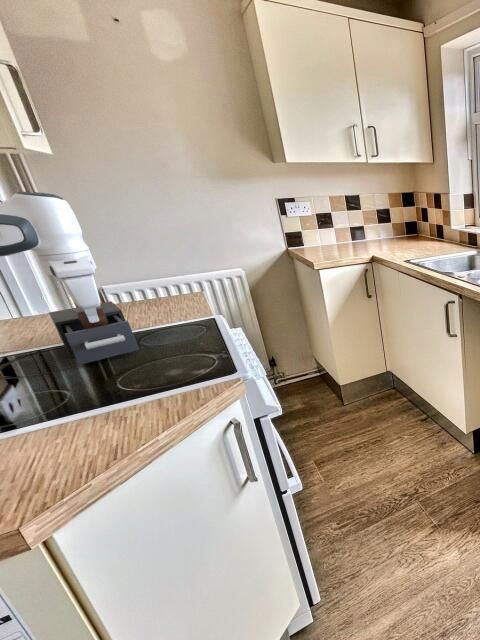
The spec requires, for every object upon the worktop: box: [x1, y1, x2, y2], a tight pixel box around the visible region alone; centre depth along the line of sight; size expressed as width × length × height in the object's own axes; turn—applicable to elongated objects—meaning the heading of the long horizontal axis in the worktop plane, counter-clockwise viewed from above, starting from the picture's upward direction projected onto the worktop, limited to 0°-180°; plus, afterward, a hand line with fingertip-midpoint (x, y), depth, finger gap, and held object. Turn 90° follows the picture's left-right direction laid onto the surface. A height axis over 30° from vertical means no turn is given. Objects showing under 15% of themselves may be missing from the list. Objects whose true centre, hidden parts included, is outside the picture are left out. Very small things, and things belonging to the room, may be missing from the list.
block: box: [75, 307, 108, 329], centre depth 104 cm, size 4×4×4 cm
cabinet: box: [48, 301, 127, 359], centre depth 113 cm, size 14×13×10 cm
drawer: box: [63, 314, 140, 366], centre depth 105 cm, size 17×11×8 cm
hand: (92, 319), depth 105 cm, fingers closed on block, 4 cm apart
